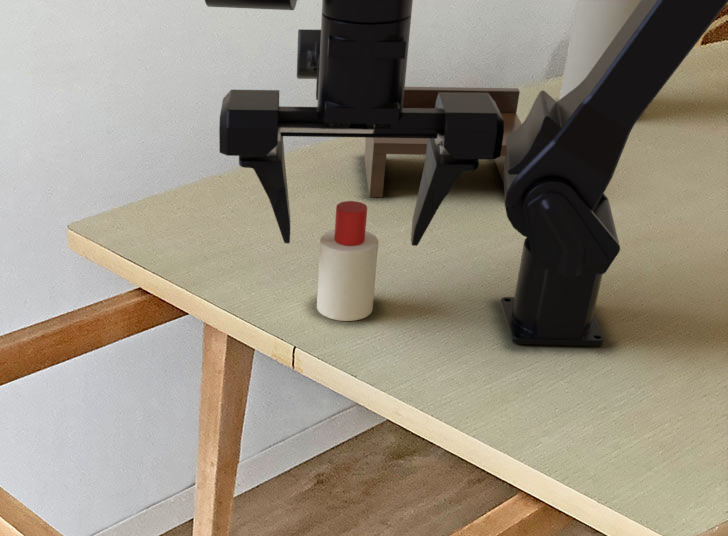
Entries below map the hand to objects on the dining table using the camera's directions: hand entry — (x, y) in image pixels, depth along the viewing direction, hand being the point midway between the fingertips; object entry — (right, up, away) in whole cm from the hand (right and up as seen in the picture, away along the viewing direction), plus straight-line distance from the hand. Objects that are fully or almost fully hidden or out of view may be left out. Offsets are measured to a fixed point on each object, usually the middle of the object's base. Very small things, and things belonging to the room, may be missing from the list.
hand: (350, 242), depth 78 cm
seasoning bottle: (0, -4, +3) cm, 5 cm away
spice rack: (+11, +12, +24) cm, 29 cm away
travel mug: (+31, +24, +40) cm, 56 cm away
